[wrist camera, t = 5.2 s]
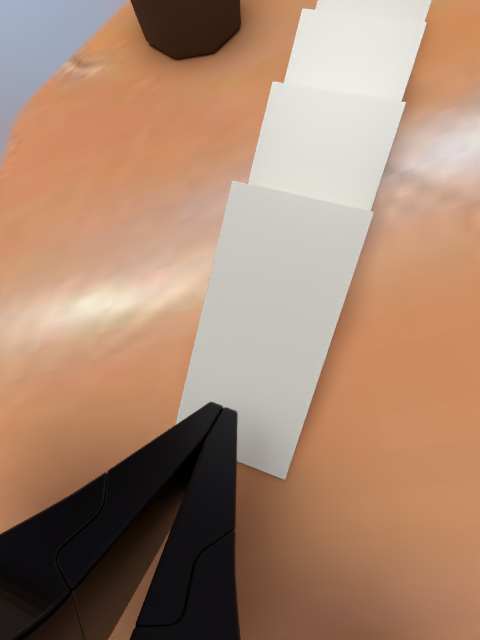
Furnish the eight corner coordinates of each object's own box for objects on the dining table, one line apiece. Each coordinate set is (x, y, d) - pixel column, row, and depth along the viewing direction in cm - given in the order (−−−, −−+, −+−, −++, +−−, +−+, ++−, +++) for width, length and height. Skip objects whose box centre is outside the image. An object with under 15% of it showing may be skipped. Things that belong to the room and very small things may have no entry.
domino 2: (317, 370, 14) (405, 102, 12) (210, 336, 15) (272, 81, 13) (318, 358, 16) (394, 124, 14) (222, 328, 17) (278, 105, 15)
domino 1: (285, 479, 13) (374, 211, 11) (172, 435, 14) (232, 180, 12) (289, 453, 15) (366, 220, 13) (190, 415, 16) (244, 192, 14)
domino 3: (341, 284, 15) (427, 22, 13) (240, 256, 16) (302, 8, 14) (339, 282, 17) (413, 53, 15) (248, 258, 18) (304, 39, 16)
